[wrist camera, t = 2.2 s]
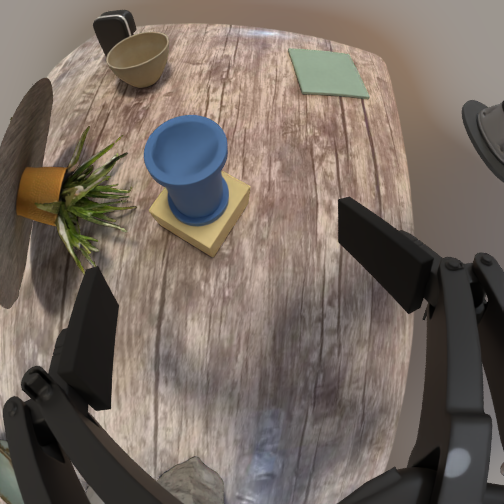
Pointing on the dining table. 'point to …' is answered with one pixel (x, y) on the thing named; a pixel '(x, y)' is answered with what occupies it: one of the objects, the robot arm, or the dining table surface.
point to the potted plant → (45, 190)
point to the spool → (190, 167)
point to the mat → (327, 73)
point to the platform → (210, 234)
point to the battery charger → (113, 28)
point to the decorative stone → (193, 483)
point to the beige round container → (140, 58)
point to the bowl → (8, 477)
